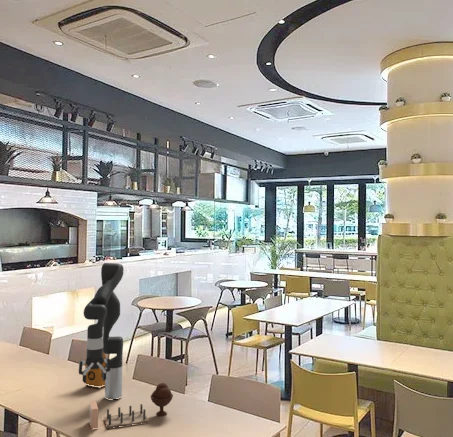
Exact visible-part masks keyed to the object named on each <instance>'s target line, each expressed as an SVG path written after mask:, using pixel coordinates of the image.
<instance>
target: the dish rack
mask: <svg viewBox="0 0 453 437" xmlns="http://www.w3.org/2000/svg"><path fill="white" fill-rule="evenodd" d="M128 407H129V411H128V412H129V413H123V411H122V412H121V407H120V406H119V407H118V408H117V414H116V415H112V413H110V409H109V408H106V416H104V417H103V420H104V419H105V421H104V423H105V422H106V423H105V426H106V425H107V426H106V429H107V428H113V427H119V426H127V425H132V424H140V425H144V424H143V423H146V424H149V419H148V418H147V415H146V408H145V409H143V404H142V403H141V404H140V408H139V409H140V411H137V412H136V411H135V410H132V405H129V406H128ZM141 423H142V424H141ZM127 427H128V426H127Z"/></svg>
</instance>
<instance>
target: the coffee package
mask: <svg viewBox="0 0 453 437" xmlns="http://www.w3.org/2000/svg"><path fill="white" fill-rule="evenodd" d="M103 359H107V356H106V354H105V353H104V352H103ZM102 366H103V367H104V368H105V361H104V362H103V364H102ZM86 367H87V365H86V363H85V364H84V369H85V368H86ZM86 384H89V385H94V386H102V385H105V381H103V371H102V370H101V369H100V368H98V369H92V370H91V369H90V370H89V371H88V372H87V373H86Z"/></svg>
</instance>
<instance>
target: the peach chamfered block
mask: <svg viewBox="0 0 453 437" xmlns="http://www.w3.org/2000/svg"><path fill="white" fill-rule="evenodd" d="M89 420H90V422H89V425H90V424H91V426H90V429H91V428H92V429H93V428H98V429H99V408H98V404H97V401H96V400H94V401H89Z"/></svg>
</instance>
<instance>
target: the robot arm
mask: <svg viewBox="0 0 453 437" xmlns="http://www.w3.org/2000/svg"><path fill="white" fill-rule="evenodd" d="M100 269H101V270H100V273H101V274H100V278H101V286H100V287H99V288H98V289H97V291H96V292H95V294H94V296H93V298H92V299H91V300H90V301H89V302H88V303H87V304H86V305H85V307H84V309H83V317H84V318H85V319H86V320H92V321H93V320H95V321H96V320H97V322H96V323H93V324H89V325H88V327H87V334H86V335H87V338H86V359H85V360H79V362H78V374H79V375H82V382H83V383H84V384H85V383H86V373H87V372H88V371H89V370H90V369H91V370H92V369H98V368H100V369H101V370H102V371H103V381H105V387H104V398H105V397H106V398H108V399H116V398H119V397H121V396H122V397H123V352H124V351H123V350H124V339H123V337H122V336H121V335H120V336H119V335H118V336H110V333H111V331H112V329H113V327H114V325H115V324H116V322H117V321H118V320H119V318H120V316H121V302H120V299H119V298H118V296H117V295H116V293H115V292H114V290H115V289H116V288H117V286H118V285H119V283H120V282H121V281H122V279H123V276H124V271H125V270H124V265H123V264H121V263H116V262H115V263H114V262H104V263H103V264H102V266H101V268H100ZM103 352H104V354H105V355H115V356H114V357H112V358H110V357H106V359H103ZM104 361H105V368H104V367H103V366H102V364H103V362H104ZM85 363H86V365H87V367H86V368H85V367H84V369H83V366H85Z"/></svg>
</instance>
